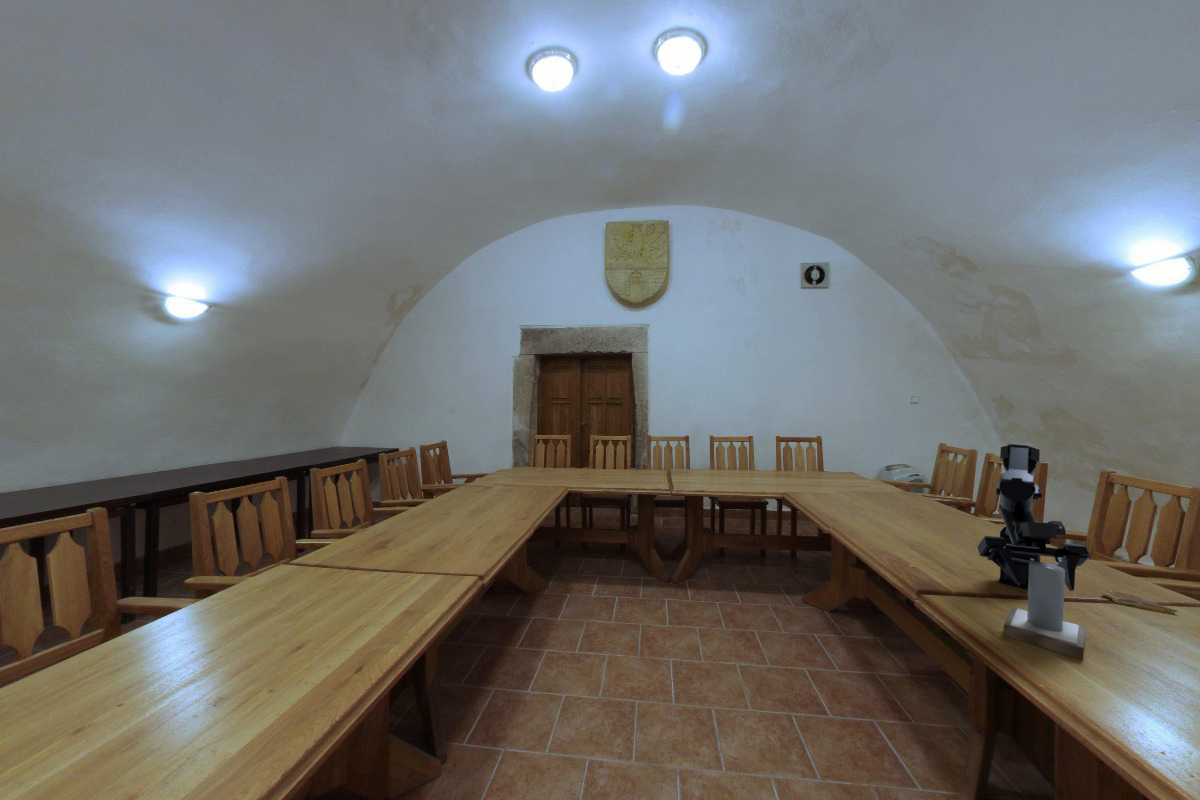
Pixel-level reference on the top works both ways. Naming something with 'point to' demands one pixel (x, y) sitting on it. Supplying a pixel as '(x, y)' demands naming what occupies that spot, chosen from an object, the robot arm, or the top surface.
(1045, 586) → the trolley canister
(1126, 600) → the shard
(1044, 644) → the plate
